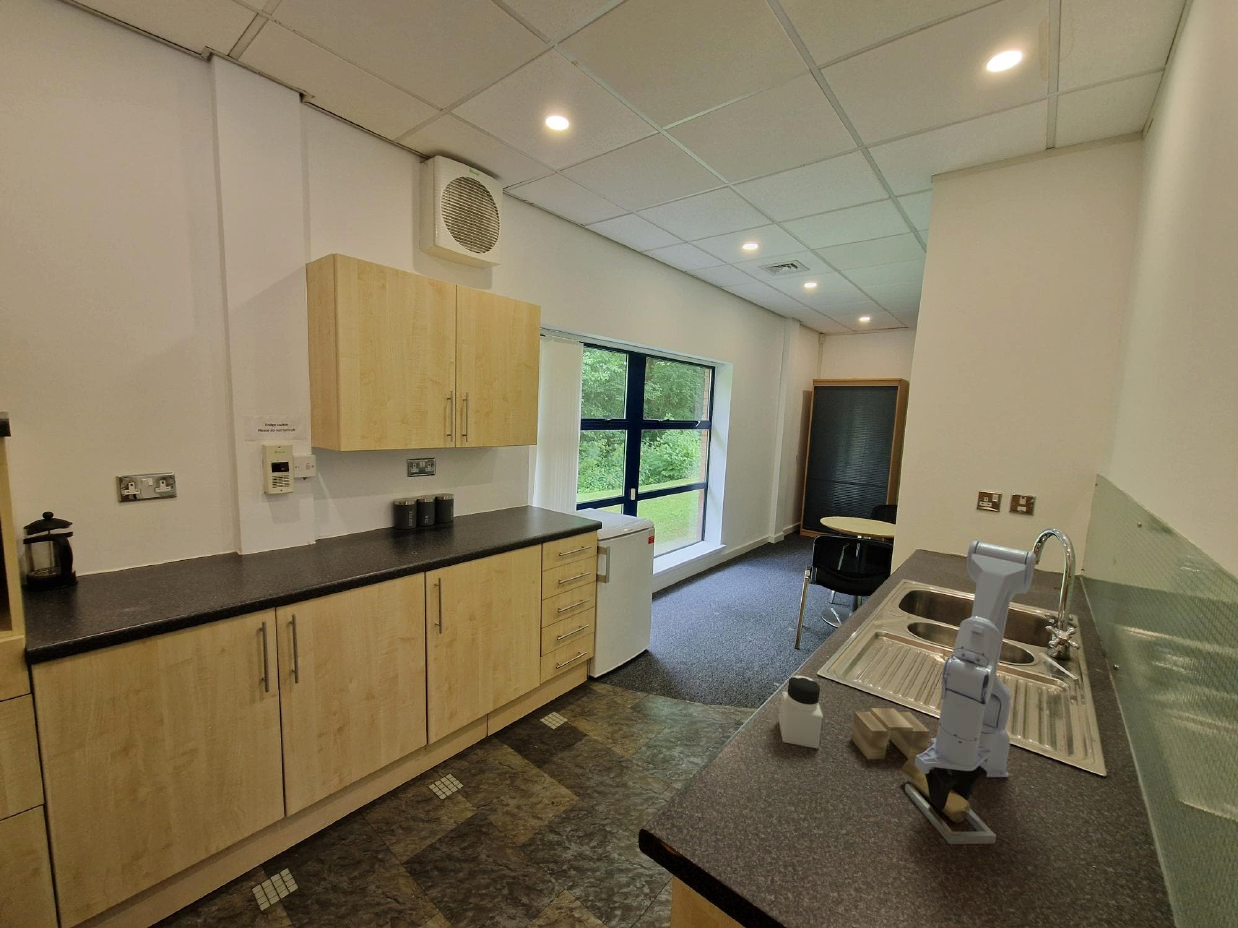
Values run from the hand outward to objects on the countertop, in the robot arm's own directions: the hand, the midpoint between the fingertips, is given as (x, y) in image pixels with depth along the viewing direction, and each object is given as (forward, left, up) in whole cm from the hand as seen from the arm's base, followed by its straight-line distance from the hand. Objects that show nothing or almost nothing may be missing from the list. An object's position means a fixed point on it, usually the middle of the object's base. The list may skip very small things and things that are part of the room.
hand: (947, 802), depth 84 cm
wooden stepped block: (0, -16, -2) cm, 16 cm away
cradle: (0, 0, -2) cm, 2 cm away
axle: (0, -3, -1) cm, 3 cm away
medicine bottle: (+17, -20, -2) cm, 26 cm away
